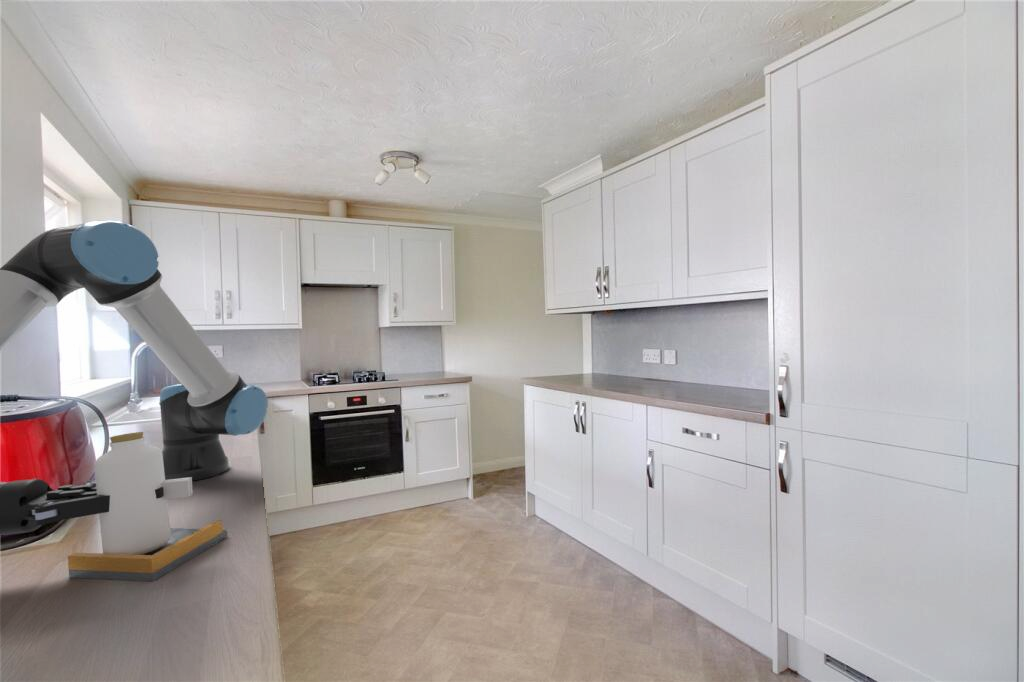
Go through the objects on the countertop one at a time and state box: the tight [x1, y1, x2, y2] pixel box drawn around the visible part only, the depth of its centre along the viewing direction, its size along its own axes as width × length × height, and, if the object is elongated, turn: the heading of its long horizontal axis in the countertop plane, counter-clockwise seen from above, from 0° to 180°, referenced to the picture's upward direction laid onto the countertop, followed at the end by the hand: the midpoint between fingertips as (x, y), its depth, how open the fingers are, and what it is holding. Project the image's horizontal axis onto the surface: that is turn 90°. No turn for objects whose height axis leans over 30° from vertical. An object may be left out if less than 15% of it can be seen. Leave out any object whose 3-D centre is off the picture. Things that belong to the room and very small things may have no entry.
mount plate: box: [67, 520, 228, 582], centre depth 74 cm, size 14×14×3 cm
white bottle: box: [93, 431, 171, 555], centre depth 73 cm, size 8×8×18 cm
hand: (190, 486), depth 75 cm, fingers closed
